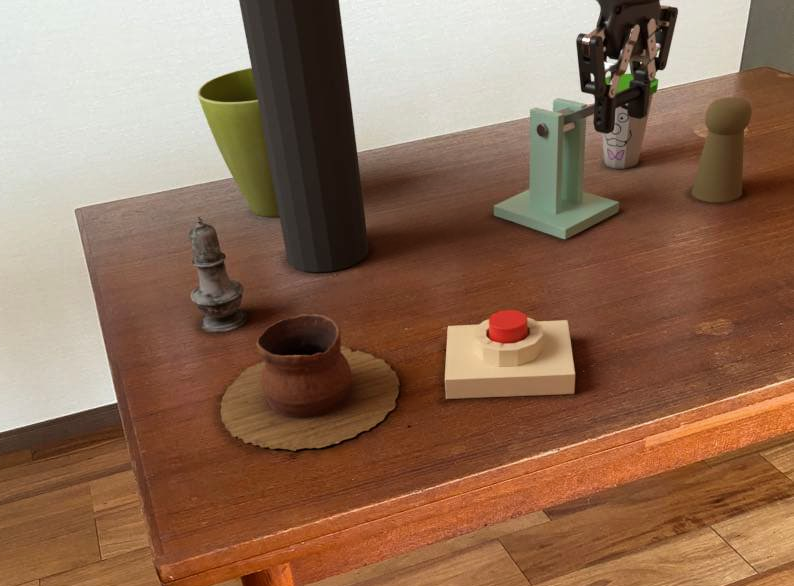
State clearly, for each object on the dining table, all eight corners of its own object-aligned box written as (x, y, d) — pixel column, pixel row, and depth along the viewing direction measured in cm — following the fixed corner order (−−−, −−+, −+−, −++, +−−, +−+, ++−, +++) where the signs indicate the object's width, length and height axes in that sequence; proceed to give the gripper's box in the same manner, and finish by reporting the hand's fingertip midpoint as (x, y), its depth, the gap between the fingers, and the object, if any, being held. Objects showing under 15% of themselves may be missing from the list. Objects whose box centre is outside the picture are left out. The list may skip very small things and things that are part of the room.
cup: (582, 169, 122) (588, 49, 112) (607, 149, 126) (614, 32, 116) (636, 176, 118) (647, 53, 108) (659, 156, 123) (672, 35, 113)
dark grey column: (316, 232, 115) (273, -38, 95) (383, 242, 111) (353, -38, 91) (271, 266, 109) (215, -14, 89) (340, 278, 105) (297, -14, 85)
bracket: (618, 212, 111) (627, 103, 102) (565, 240, 106) (569, 128, 98) (546, 190, 118) (548, 86, 109) (493, 215, 114) (491, 110, 105)
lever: (645, 101, 97) (639, 78, 97) (615, 114, 95) (609, 90, 94) (566, 130, 108) (560, 109, 107) (538, 142, 105) (532, 121, 104)
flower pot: (292, 236, 115) (268, 105, 104) (203, 222, 122) (173, 98, 111) (351, 191, 124) (335, 67, 113) (266, 181, 131) (244, 62, 120)
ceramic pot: (383, 454, 79) (374, 387, 74) (195, 450, 82) (175, 386, 77) (412, 348, 91) (406, 285, 87) (249, 348, 95) (234, 287, 90)
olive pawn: (733, 205, 109) (748, 110, 102) (684, 198, 112) (696, 106, 104) (748, 186, 112) (764, 94, 105) (701, 180, 115) (713, 90, 108)
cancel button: (526, 325, 86) (526, 308, 84) (528, 344, 83) (528, 327, 82) (489, 327, 86) (488, 310, 85) (489, 346, 83) (488, 329, 82)
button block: (566, 339, 90) (568, 303, 87) (574, 394, 83) (576, 356, 80) (448, 344, 91) (446, 309, 89) (446, 399, 84) (443, 362, 81)
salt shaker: (251, 328, 98) (227, 223, 90) (198, 337, 98) (169, 232, 90) (248, 304, 102) (225, 201, 94) (198, 312, 102) (170, 210, 94)
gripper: (618, -38, 82) (605, 151, 93) (711, -70, 88) (688, 111, 99) (556, -45, 86) (551, 137, 98) (649, -74, 92) (634, 100, 104)
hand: (620, 123), depth 98 cm, fingers closed on lever, 5 cm apart
